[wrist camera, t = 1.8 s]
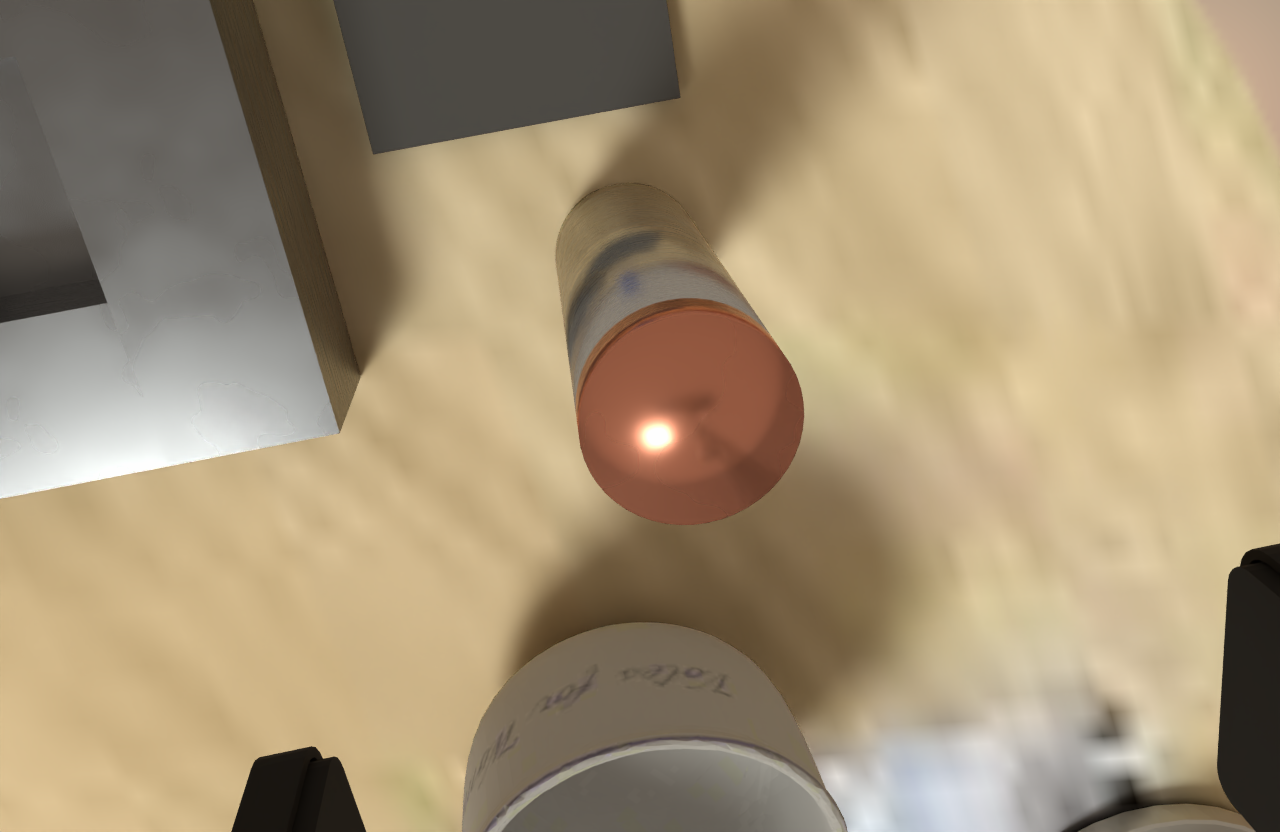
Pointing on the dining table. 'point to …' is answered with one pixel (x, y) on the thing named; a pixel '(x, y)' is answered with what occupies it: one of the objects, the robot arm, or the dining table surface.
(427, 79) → the rubber pad
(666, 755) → the teacup
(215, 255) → the block
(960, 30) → the dining table surface
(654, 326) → the silver copper cylinder
